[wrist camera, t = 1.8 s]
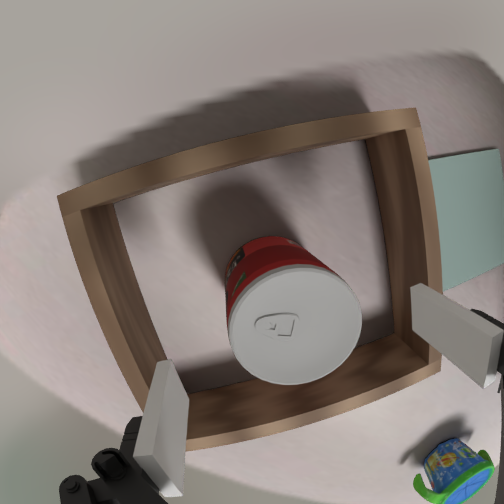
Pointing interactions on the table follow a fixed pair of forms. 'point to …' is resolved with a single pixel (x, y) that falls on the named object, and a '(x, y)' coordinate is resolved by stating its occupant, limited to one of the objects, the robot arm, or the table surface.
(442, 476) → the snack cup
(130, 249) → the table surface
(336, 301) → the canned food
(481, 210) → the mat
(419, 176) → the frame
